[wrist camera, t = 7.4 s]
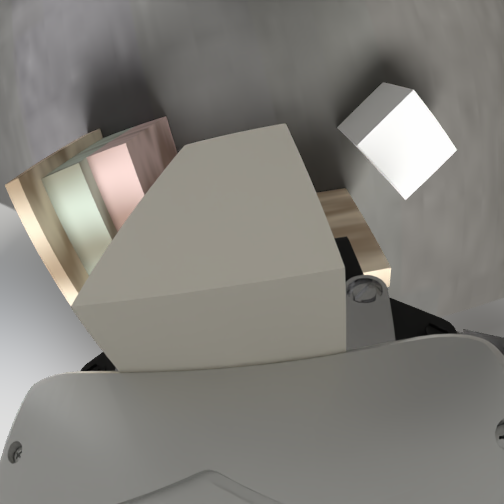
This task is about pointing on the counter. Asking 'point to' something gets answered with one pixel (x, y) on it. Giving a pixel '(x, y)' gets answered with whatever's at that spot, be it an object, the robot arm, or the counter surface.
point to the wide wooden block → (129, 202)
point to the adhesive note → (398, 136)
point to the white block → (221, 264)
